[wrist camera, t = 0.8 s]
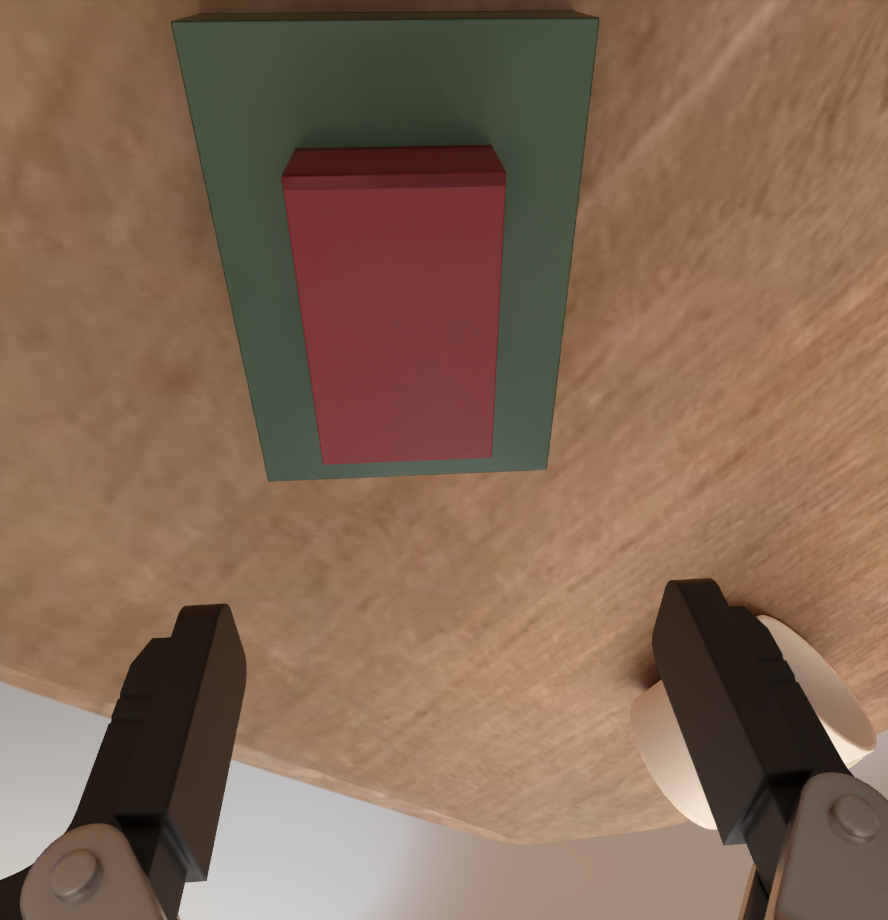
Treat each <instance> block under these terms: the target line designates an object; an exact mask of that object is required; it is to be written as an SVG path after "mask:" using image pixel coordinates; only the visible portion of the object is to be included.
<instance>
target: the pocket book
mask: <svg viewBox="0 0 888 920" xmlns="http://www.w3.org/2000/svg"><path fill="white" fill-rule="evenodd" d="M506 175H507V173H506V170H505V169H504V167H503V165H502V163H501V161H500V159H499V158H498V156H497V154H496V152H495V150H494V148H493V147H492V145H459V146H403V147H347V148H296V149H295V150H294V152H293V154H292V156H291V158H290V160H289V162H288V164H287V166H286V168H285V170H284V172H283V174H282V176H281V180H282V187H283V194H284V200H285V207H286V214H287V221H288V228H289V235H290V242H291V249H292V256H293V263H294V269H295V276H296V283H297V290H298V297H299V304H300V311H301V318H302V325H303V332H304V338H305V345H306V352H307V359H308V366H309V373H310V380H311V387H312V394H313V401H314V407H315V414H316V421H317V428H318V435H319V442H320V449H321V456H322V463H323V465H330V464H354V463H378V462H402V461H426V460H451V459H475V458H491V457H492V446H493V426H494V407H495V388H496V368H497V349H498V329H499V310H500V291H501V271H502V252H503V233H504V213H505V194H506Z"/></svg>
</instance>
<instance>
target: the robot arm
mask: <svg viewBox="0 0 888 920" xmlns="http://www.w3.org/2000/svg"><path fill="white" fill-rule="evenodd" d="M652 646H653V654H654V659H655V663H656V666H657V669H658V671H659V674H660V677H661V679H662V682H663V685H664V687H665V690H666V693H667V695H668V698H669V701H670V703H671V706H672V709H673V711H674V714H675V717H676V719H677V722H678V725H679V727H680V730H681V733H682V735H683V738H684V741H685V743H686V746H687V749H688V751H689V754H690V757H691V759H692V762H693V765H694V767H695V770H696V773H697V775H698V778H699V781H700V783H701V786H702V789H703V791H704V794H705V797H706V799H707V802H708V805H709V807H710V810H711V813H712V815H713V818H714V821H715V823H716V826H717V829H718V831H719V834H720V837H721V839H722V842H723V845H734V844H747V846H748V849H749V851H750V854H751V856H752V859H753V861H754V864H753V866H752V869H751V872H750V875H749V879H748V883H747V886H746V890H745V894H744V898H743V901H742V905H741V909H740V912H739V916H738V920H888V800H887V799H886V798H885V797H884V796H883V795H882V794H880V793H879V792H878V791H877V790H875V789H874V788H873V787H871V786H870V785H868V784H867V783H865V782H863V781H861V780H859V779H857V778H855V777H854V776H853V775H852V773H851V772H850V771H849V770H848V768H847V767H846V765H845V764H844V762H843V760H842V759H841V757H840V755H839V753H838V752H837V750H836V748H835V746H834V744H833V743H832V741H831V739H830V737H829V736H828V734H827V732H826V730H825V728H824V727H823V725H822V723H821V721H820V720H819V718H818V716H817V714H816V712H815V711H814V709H813V707H812V705H811V704H810V702H809V700H808V698H807V696H806V695H805V693H804V691H803V689H802V688H801V686H800V684H799V682H796V680H795V675H794V673H793V672H792V670H791V668H790V666H789V664H788V663H787V661H786V660H784V659H783V654H782V652H781V650H780V648H779V647H778V645H777V643H776V641H775V640H774V638H773V636H772V634H771V632H770V631H769V629H768V628H767V627H766V626H765V625H764V624H763V623H762V622H761V621H760V620H759V619H758V618H756V617H755V616H754V615H753V614H752V613H751V612H750V611H749V610H748V609H747V608H746V607H745V606H736V607H729V605H728V603H727V601H726V599H725V597H724V596H723V594H722V592H721V590H720V588H719V586H718V584H717V583H716V582H715V581H714V580H713V579H711V578H705V579H687V580H671V581H669V582H668V583H667V585H666V588H665V591H664V595H663V598H662V602H661V605H660V609H659V612H658V616H657V619H656V622H655V626H654V629H653V635H652ZM245 685H246V658H245V653H244V650H243V647H242V644H241V640H240V637H239V634H238V631H237V628H236V625H235V621H234V618H233V615H232V612H231V609H230V607H229V605H228V604H210V605H192V606H184V607H183V608H182V609H181V610H180V612H179V615H178V617H177V620H176V623H175V627H174V630H173V633H172V636H171V637H169V638H152V639H151V641H150V642H149V643H148V644H147V645H146V647H145V648H144V649H143V650H142V651H141V653H140V654H139V655H138V656H137V657H136V659H135V660H134V661H133V662H132V664H131V665H130V668H129V671H128V673H127V676H126V679H125V681H124V684H123V687H122V690H121V692H120V699H118V700H117V703H116V706H115V709H114V711H113V714H112V717H111V718H112V721H111V723H109V725H108V727H107V730H106V733H105V736H104V739H103V741H102V744H101V746H100V749H99V752H98V754H97V757H96V760H95V763H94V765H93V768H92V771H91V773H90V776H89V779H88V782H87V784H86V787H85V790H84V792H83V795H82V798H81V800H80V804H79V806H78V809H77V811H76V814H75V816H74V818H73V820H72V822H71V824H70V826H69V827H68V829H67V831H66V832H65V833H64V834H63V835H62V836H61V837H59V838H58V839H57V840H55V841H54V842H53V843H52V844H50V845H49V846H48V847H47V848H46V849H45V850H44V851H43V853H42V854H41V855H40V856H39V857H38V858H37V860H36V861H35V863H33V864H32V865H31V866H29V867H27V868H25V869H24V870H22V871H20V872H18V873H16V874H14V875H11V876H9V877H7V878H4V879H2V880H0V920H180V918H179V916H178V911H179V907H180V901H181V898H182V893H183V889H184V884H185V882H198V881H206V880H207V875H208V870H209V865H210V861H211V856H212V851H213V846H214V841H215V836H216V831H217V826H218V821H219V816H220V811H221V806H222V801H223V796H224V791H225V786H226V781H227V776H228V771H229V766H230V761H231V756H232V751H233V746H234V741H235V736H236V731H237V726H238V721H239V716H240V711H241V706H242V701H243V696H244V691H245Z"/></svg>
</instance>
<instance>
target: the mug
mask: <svg viewBox="0 0 888 920" xmlns="http://www.w3.org/2000/svg"><path fill="white" fill-rule="evenodd" d="M756 618H758V619H759V620H760V621H761V622H762V623H763V624H764V625H765V626H766V627H767V628H768V629H769V631H770V632H771V634H772V636H773V638H774V640H775V641H776V643H777V645H778V647H779V648H780V650H781V652H782V654H783V659H784V660H786V661H787V663H788V664H789V666H790V668H791V670H792V672H793V673H794V675H795V680H796V682H799V684H800V686H801V688H802V689H803V691H804V693H805V695H806V696H807V698H808V700H809V702H810V704H811V705H812V707H813V709H814V711H815V712H816V714H817V716H818V718H819V720H820V721H821V723H822V725H823V727H824V728H825V730H826V732H827V734H828V736H829V737H830V739H831V741H832V743H833V744H834V746H835V748H836V750H837V752H838V753H839V755H840V757H841V759H842V760H843V762H844V764H845V765H846V767H847V768H848V769H849V768H850V767H852V766H853V765H855V764H856V763H858V762H859V761H860V760H861V759H862V758H863V757H864V756H865V755H867V754H869V753H871V752H873V751H874V750H875V749H876V747H877V739H876V734H875V731H874V729H873V726H872V724H871V722H870V720H869V718H868V716H867V714H866V713H865V711H864V709H863V708H862V706H861V705H860V703H859V702H858V700H857V699H856V697H855V696H854V694H853V693H852V692H851V690H850V689H849V688H848V686H847V685H846V684H845V682H844V681H843V680H842V679H841V677H840V676H839V675H838V674H837V673H836V672H835V670H834V669H833V668H832V667H831V666H830V665H829V664H828V663H827V662H826V660H825V659H824V658H823V657H822V656H821V655H820V654H819V653H818V652H817V651H816V650H815V649H814V648H813V647H812V646H811V645H809V644H808V643H807V642H806V641H805V640H804V639H803V638H802V637H800V636H799V635H798V634H797V633H795V632H794V631H793V630H792V629H790V628H789V627H787V626H786V625H785V624H783V623H781V622H780V621H778V620H776V619H774V618H772V617H769V616H765V615H759V616H757V617H756ZM631 726H632V731H633V735H634V739H635V742H636V745H637V747H638V750H639V752H640V755H641V757H642V759H643V761H644V763H645V765H646V767H647V769H648V770H649V772H650V774H651V775H652V777H653V779H654V780H655V782H656V783H657V785H658V786H659V788H660V789H661V790H662V792H663V793H664V794H665V795H666V797H667V798H668V799H669V800H670V801H671V803H672V804H673V805H674V806H675V807H676V808H677V809H678V810H679V811H680V812H681V813H682V814H684V815H685V816H686V817H687V818H688V819H690V820H691V821H693V822H695V823H696V824H697V825H700V826H701V827H704V828H707V829H712V830H714V829H717V826H716V823H715V821H714V818H713V815H712V813H711V810H710V807H709V805H708V802H707V799H706V797H705V794H704V791H703V789H702V786H701V783H700V781H699V778H698V775H697V773H696V770H695V767H694V765H693V762H692V759H691V757H690V754H689V751H688V749H687V746H686V743H685V741H684V738H683V735H682V733H681V730H680V727H679V725H678V722H677V719H676V717H675V714H674V711H673V709H672V706H671V703H670V701H669V698H668V695H667V693H666V690H665V687H664V685H663V682H662V679H661V680H660V681H659V682H657V683H656V684H655V685H653V686H652V687H651V688H649V689H648V690H646V691H645V692H644V693H642V694H641V695H640V696H638V697H637V698H636V699H635V700H634V702H633V704H632V707H631Z"/></svg>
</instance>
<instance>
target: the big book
mask: <svg viewBox="0 0 888 920" xmlns="http://www.w3.org/2000/svg"><path fill="white" fill-rule="evenodd" d="M171 26H172V30H173V35H174V40H175V44H176V49H177V54H178V58H179V63H180V68H181V73H182V77H183V82H184V87H185V91H186V96H187V101H188V106H189V110H190V115H191V120H192V124H193V129H194V134H195V138H196V143H197V148H198V153H199V157H200V162H201V167H202V171H203V176H204V181H205V185H206V190H207V195H208V200H209V204H210V209H211V214H212V218H213V223H214V228H215V233H216V237H217V242H218V247H219V251H220V256H221V261H222V265H223V270H224V275H225V280H226V284H227V289H228V294H229V298H230V303H231V308H232V313H233V317H234V322H235V327H236V331H237V336H238V341H239V345H240V350H241V355H242V360H243V364H244V369H245V374H246V378H247V383H248V388H249V393H250V397H251V402H252V407H253V411H254V416H255V421H256V425H257V430H258V435H259V440H260V444H261V449H262V454H263V458H264V463H265V468H266V472H267V477H268V481H269V482H270V481H293V480H317V479H340V478H364V477H387V476H411V475H435V474H458V473H482V472H505V471H529V470H547V464H548V455H549V447H550V438H551V430H552V421H553V412H554V404H555V395H556V387H557V378H558V370H559V361H560V353H561V344H562V335H563V327H564V318H565V310H566V301H567V293H568V284H569V275H570V267H571V258H572V250H573V241H574V233H575V224H576V215H577V207H578V198H579V190H580V181H581V173H582V164H583V155H584V147H585V138H586V130H587V121H588V113H589V104H590V96H591V87H592V78H593V70H594V61H595V53H596V44H597V36H598V27H599V18H598V17H594V16H591V15H587V14H584V13H580V12H576V11H458V12H328V13H199V14H195V15H192V16H188V17H185V18H181V19H178V20H174V21H172V22H171ZM459 145H492V147H493V148H494V150H495V152H496V154H497V156H498V158H499V159H500V161H501V163H502V165H503V167H504V169H505V170H506V173H507V175H506V194H505V213H504V233H503V252H502V271H501V291H500V310H499V329H498V349H497V368H496V388H495V407H494V426H493V446H492V457H491V458H475V459H451V460H426V461H402V462H378V463H354V464H330V465H323V463H322V456H321V449H320V442H319V435H318V428H317V421H316V414H315V407H314V401H313V394H312V387H311V380H310V373H309V366H308V359H307V352H306V345H305V338H304V332H303V325H302V318H301V311H300V304H299V297H298V290H297V283H296V276H295V269H294V263H293V256H292V249H291V242H290V235H289V228H288V221H287V214H286V207H285V200H284V194H283V187H282V180H281V176H282V174H283V172H284V170H285V168H286V166H287V164H288V162H289V160H290V158H291V156H292V154H293V152H294V150H295V149H296V148H347V147H403V146H459Z"/></svg>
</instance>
